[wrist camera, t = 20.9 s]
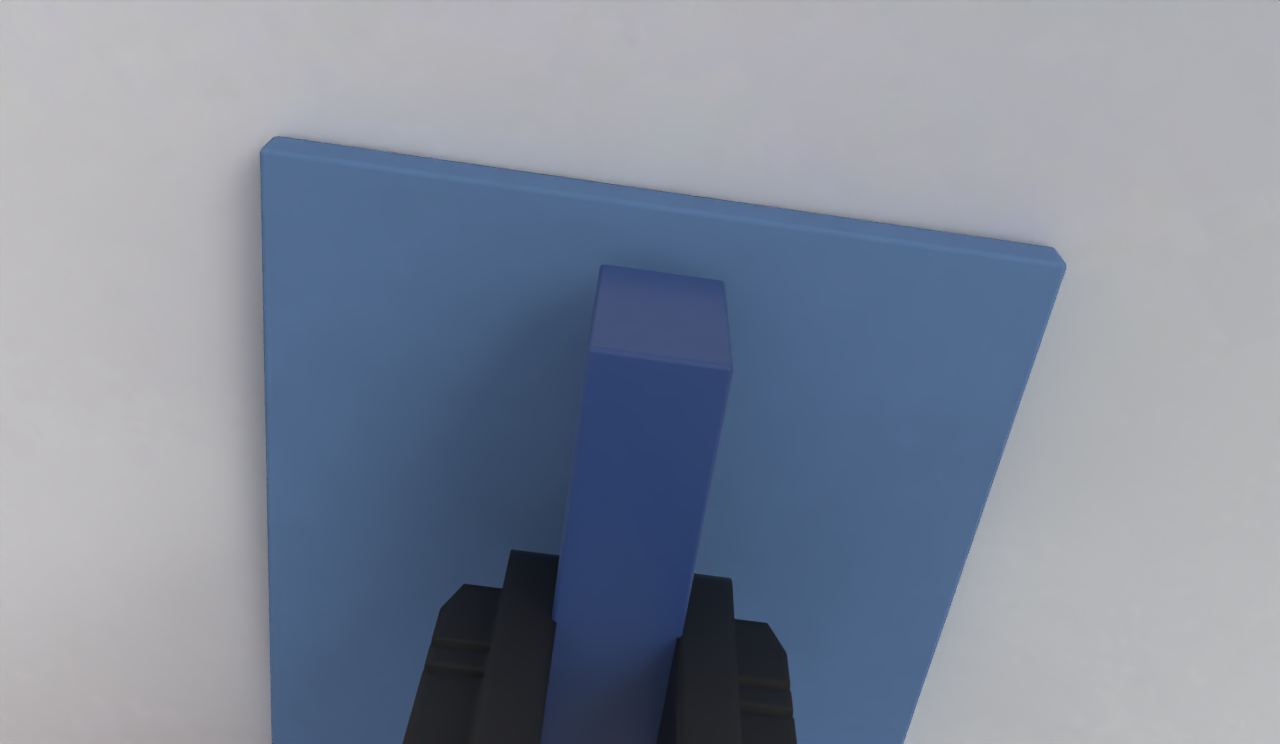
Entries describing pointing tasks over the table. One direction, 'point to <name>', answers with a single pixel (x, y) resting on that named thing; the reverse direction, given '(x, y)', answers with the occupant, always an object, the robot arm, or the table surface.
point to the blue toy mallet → (635, 500)
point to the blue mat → (549, 403)
